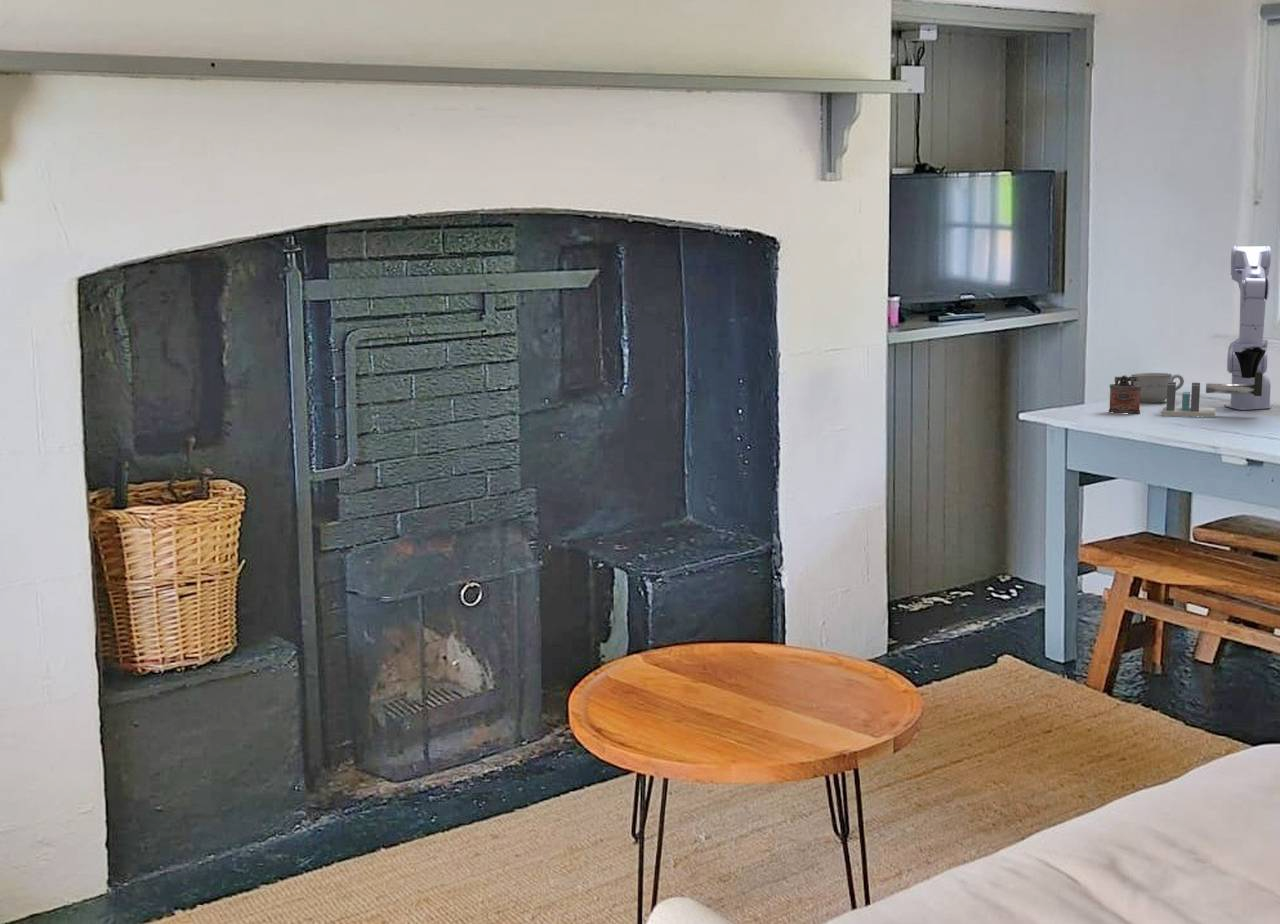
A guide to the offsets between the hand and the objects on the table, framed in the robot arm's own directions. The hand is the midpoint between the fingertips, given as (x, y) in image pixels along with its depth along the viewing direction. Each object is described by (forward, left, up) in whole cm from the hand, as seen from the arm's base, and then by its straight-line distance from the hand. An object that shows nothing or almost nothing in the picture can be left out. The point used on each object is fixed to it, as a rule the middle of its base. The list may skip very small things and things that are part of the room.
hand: (1248, 377), depth 403 cm
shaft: (+2, -3, -5) cm, 6 cm away
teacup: (+7, -31, -10) cm, 33 cm away
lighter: (+26, -16, -10) cm, 32 cm away
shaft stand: (+12, -9, -10) cm, 18 cm away
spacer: (+12, -9, -9) cm, 17 cm away
